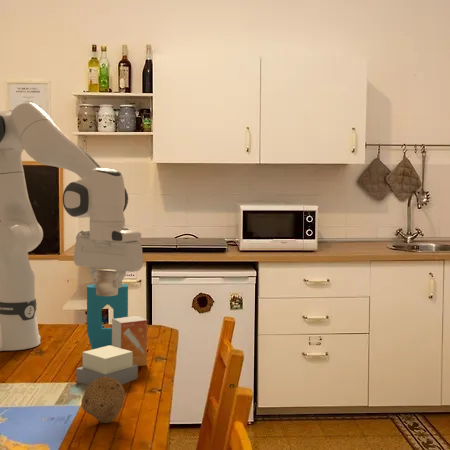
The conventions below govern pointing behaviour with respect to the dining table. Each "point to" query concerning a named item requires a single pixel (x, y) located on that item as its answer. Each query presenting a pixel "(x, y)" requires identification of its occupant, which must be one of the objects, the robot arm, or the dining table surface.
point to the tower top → (107, 359)
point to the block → (94, 314)
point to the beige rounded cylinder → (106, 283)
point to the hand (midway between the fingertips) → (107, 286)
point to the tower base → (107, 375)
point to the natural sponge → (103, 399)
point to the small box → (131, 337)
